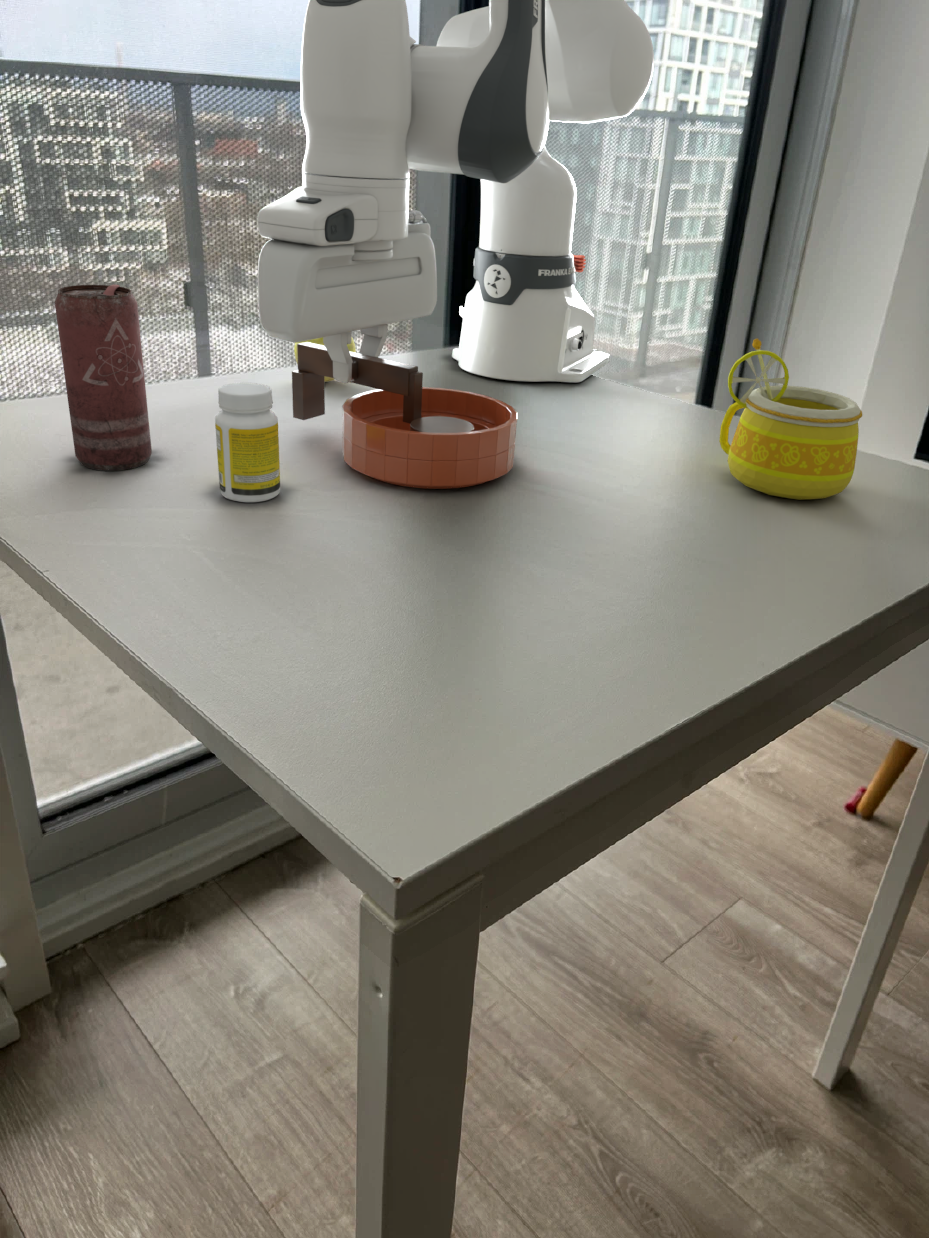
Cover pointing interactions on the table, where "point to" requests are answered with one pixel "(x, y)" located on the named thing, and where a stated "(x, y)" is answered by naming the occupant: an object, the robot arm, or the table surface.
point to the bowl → (428, 439)
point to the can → (104, 375)
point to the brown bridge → (371, 374)
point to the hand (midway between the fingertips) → (355, 378)
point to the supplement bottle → (247, 443)
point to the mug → (790, 436)
